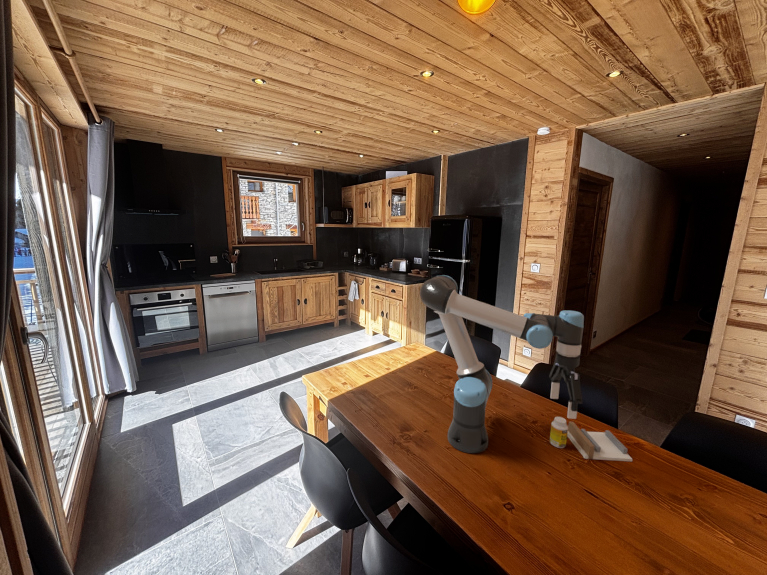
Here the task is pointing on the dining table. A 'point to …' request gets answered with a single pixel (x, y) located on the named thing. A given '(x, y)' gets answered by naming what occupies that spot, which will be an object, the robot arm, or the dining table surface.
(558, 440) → the supplement bottle
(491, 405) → the dining table surface
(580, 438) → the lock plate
